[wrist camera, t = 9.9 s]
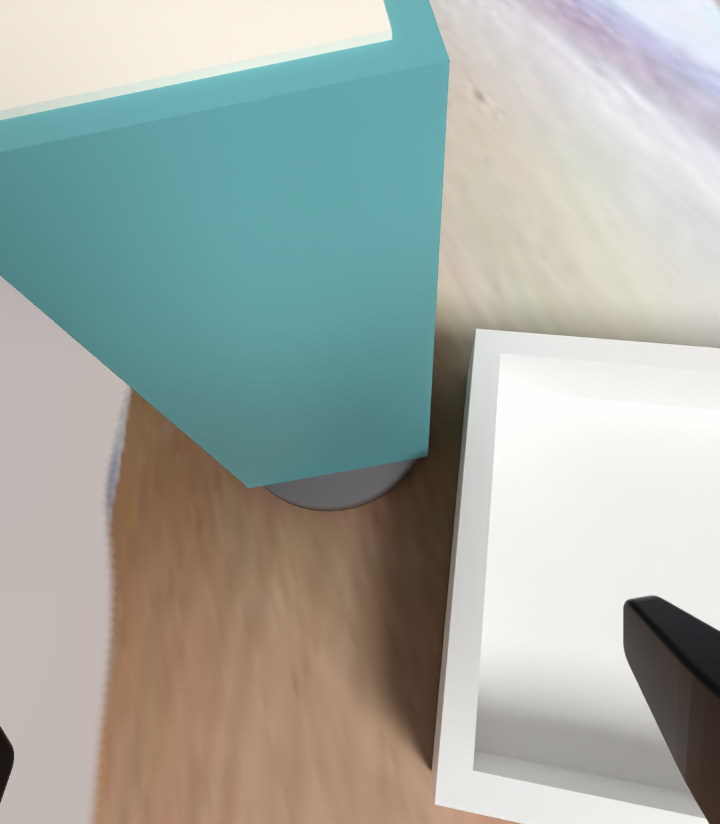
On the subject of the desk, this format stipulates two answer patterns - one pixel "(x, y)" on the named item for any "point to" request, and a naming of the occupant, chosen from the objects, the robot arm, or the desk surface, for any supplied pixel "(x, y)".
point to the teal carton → (236, 213)
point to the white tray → (573, 573)
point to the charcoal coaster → (342, 487)
